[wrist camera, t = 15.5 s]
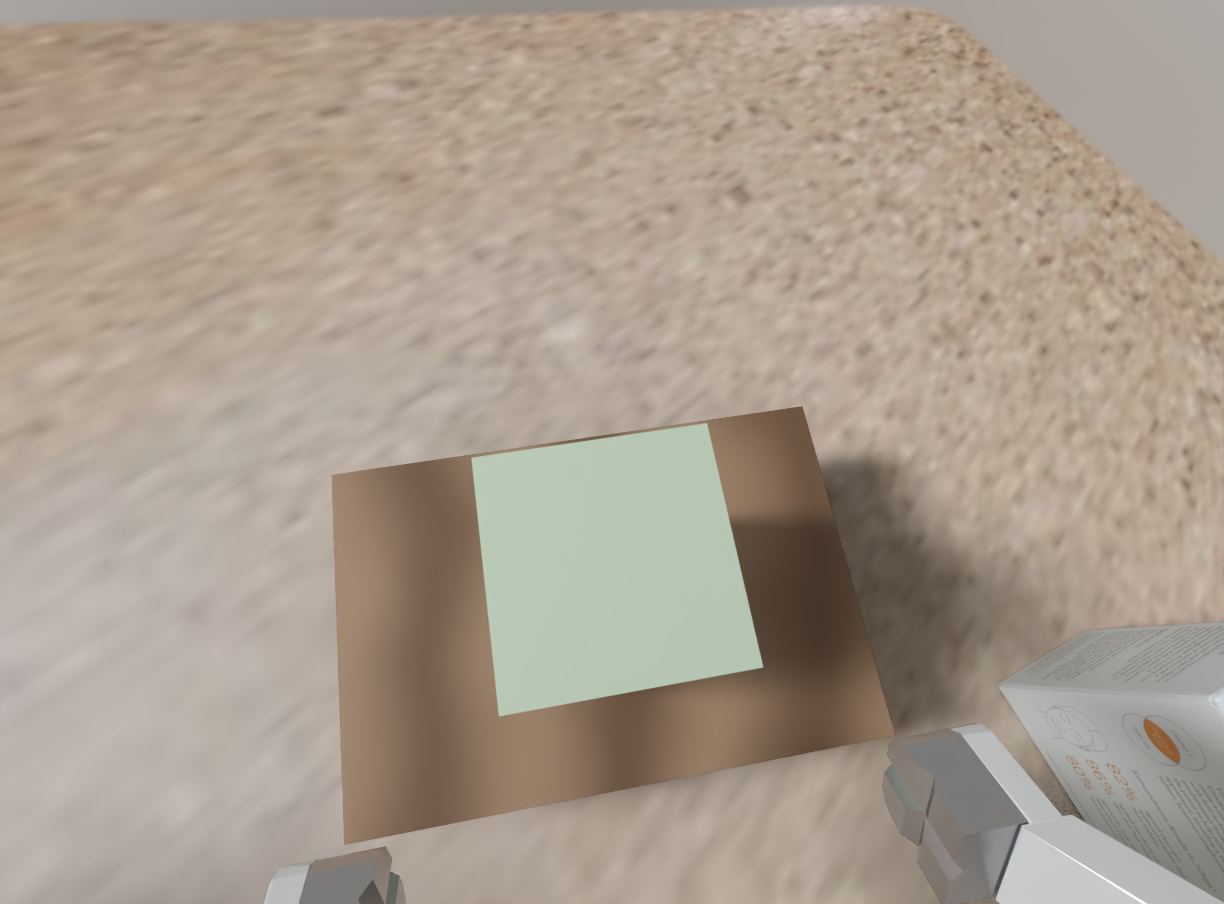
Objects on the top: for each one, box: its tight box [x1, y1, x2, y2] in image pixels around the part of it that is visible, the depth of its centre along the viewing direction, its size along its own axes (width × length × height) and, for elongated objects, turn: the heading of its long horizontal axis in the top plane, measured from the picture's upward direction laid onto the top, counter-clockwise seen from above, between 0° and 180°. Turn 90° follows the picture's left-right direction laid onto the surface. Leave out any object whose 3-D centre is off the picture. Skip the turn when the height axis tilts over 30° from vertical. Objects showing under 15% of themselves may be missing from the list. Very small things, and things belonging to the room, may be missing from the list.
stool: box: [332, 407, 895, 845], centre depth 25 cm, size 18×12×7 cm, turn 100°
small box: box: [998, 622, 1224, 902], centre depth 23 cm, size 8×6×10 cm
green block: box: [471, 423, 763, 716], centre depth 17 cm, size 5×5×10 cm
